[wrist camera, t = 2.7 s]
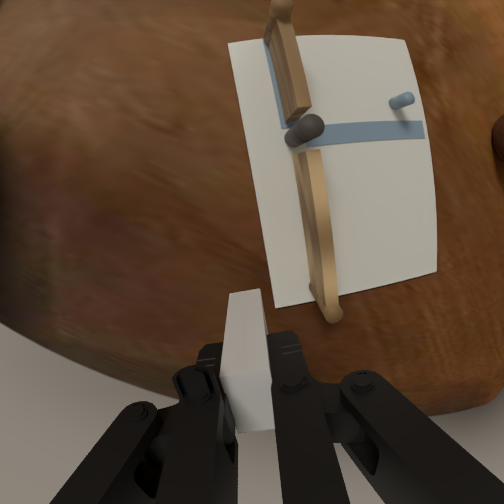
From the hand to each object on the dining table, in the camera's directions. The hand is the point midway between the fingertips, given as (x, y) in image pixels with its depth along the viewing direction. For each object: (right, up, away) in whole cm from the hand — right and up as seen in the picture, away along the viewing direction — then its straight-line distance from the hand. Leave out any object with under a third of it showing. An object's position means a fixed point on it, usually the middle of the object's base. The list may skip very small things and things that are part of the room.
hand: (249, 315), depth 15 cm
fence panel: (+5, +5, +11) cm, 13 cm away
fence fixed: (+3, +17, +8) cm, 20 cm away
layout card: (+9, +11, +10) cm, 18 cm away
